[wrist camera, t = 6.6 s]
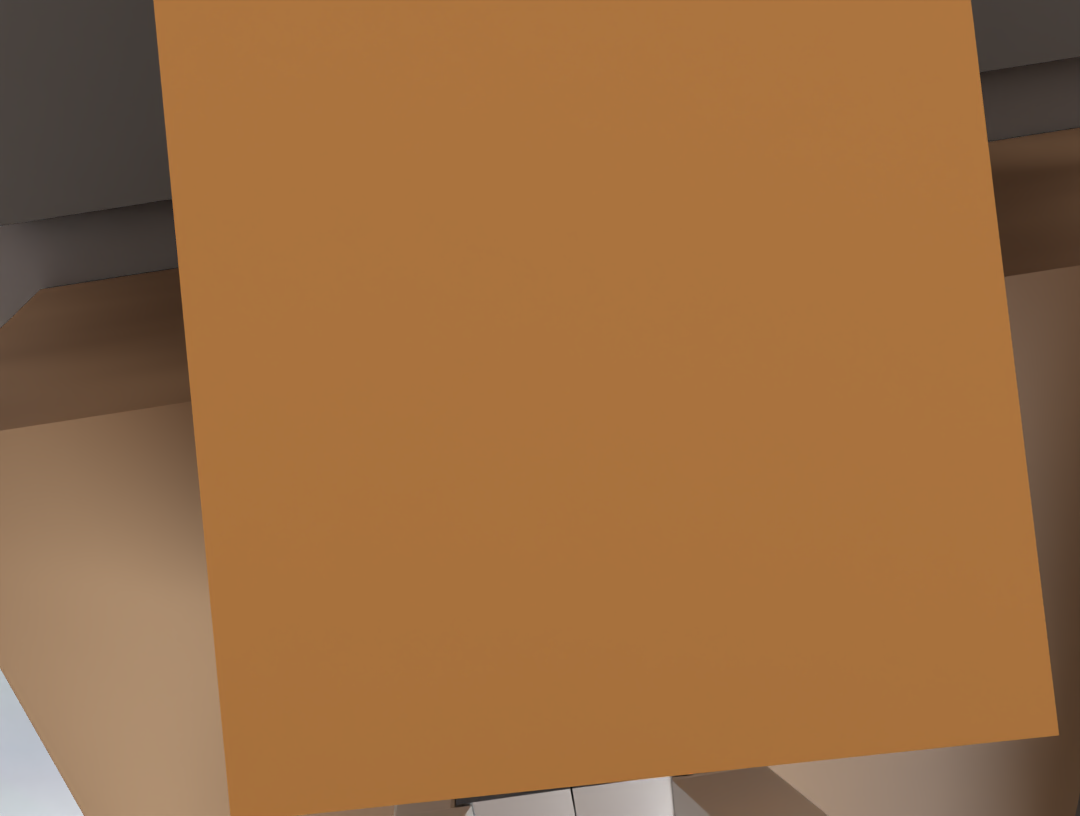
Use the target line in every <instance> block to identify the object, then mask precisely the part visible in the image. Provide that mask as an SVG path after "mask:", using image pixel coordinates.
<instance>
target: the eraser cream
mask: <svg viewBox="0 0 1080 816" xmlns="http://www.w3.org/2000/svg"><path fill="white" fill-rule="evenodd" d="M1075 816H1080V795H1079V800H1078V805H1077V810H1076V815H1075Z"/></svg>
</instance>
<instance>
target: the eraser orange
mask: <svg viewBox="0 0 1080 816" xmlns="http://www.w3.org/2000/svg"><path fill="white" fill-rule="evenodd" d="M153 1H154V12H155V22H156V33H157V44H158V54H159V65H160V75H161V86H162V96H163V107H164V118H165V128H166V139H167V149H168V160H169V171H170V181H171V192H172V202H173V213H174V224H175V234H176V245H177V255H178V266H179V277H180V287H181V298H182V308H183V319H184V330H185V340H186V351H187V361H188V372H189V383H190V393H191V404H192V414H193V425H194V436H195V446H196V457H197V467H198V478H199V489H200V499H201V510H202V520H203V531H204V542H205V552H206V563H207V573H208V584H209V595H210V605H211V616H212V626H213V637H214V647H215V658H216V669H217V679H218V690H219V700H220V711H221V722H222V732H223V743H224V753H225V764H226V775H227V785H228V796H229V806H230V816H297V815H307V814H317V813H326V812H336V811H345V810H355V809H364V808H374V807H383V806H393V805H402V804H412V803H421V802H431V801H440V800H450V799H459V798H469V797H478V796H488V795H497V794H507V793H516V792H526V791H535V790H545V789H554V788H564V787H573V786H583V785H592V784H602V783H611V782H621V781H630V780H640V779H649V778H659V777H668V776H678V775H687V774H697V773H706V772H716V771H725V770H735V769H744V768H754V767H763V766H773V765H782V764H792V763H801V762H811V761H820V760H830V759H839V758H849V757H858V756H868V755H877V754H887V753H896V752H906V751H915V750H925V749H934V748H944V747H953V746H963V745H972V744H982V743H991V742H1001V741H1010V740H1020V739H1029V738H1039V737H1048V736H1058V735H1059V730H1058V721H1057V713H1056V705H1055V696H1054V688H1053V680H1052V671H1051V663H1050V655H1049V646H1048V638H1047V630H1046V621H1045V613H1044V605H1043V597H1042V588H1041V580H1040V572H1039V563H1038V555H1037V547H1036V538H1035V530H1034V522H1033V513H1032V505H1031V497H1030V488H1029V480H1028V472H1027V463H1026V455H1025V447H1024V438H1023V430H1022V422H1021V413H1020V405H1019V397H1018V388H1017V380H1016V372H1015V363H1014V355H1013V347H1012V338H1011V330H1010V322H1009V313H1008V305H1007V297H1006V289H1005V280H1004V272H1003V264H1002V255H1001V247H1000V239H999V230H998V222H997V214H996V205H995V197H994V189H993V180H992V172H991V164H990V155H989V147H988V139H987V130H986V122H985V114H984V105H983V97H982V89H981V80H980V72H979V64H978V55H977V47H976V39H975V30H974V22H973V14H972V5H971V0H153Z"/></svg>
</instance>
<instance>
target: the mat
mask: <svg viewBox="0 0 1080 816" xmlns="http://www.w3.org/2000/svg"><path fill="white" fill-rule="evenodd" d="M971 5H972V14H973V22H974V30H975V39H976V47H977V55H978V64H979V72H985V71H991V70H998V69H1004V68H1010V67H1017V66H1023V65H1029V64H1036V63H1042V62H1049V61H1055V60H1061V59H1068V58H1074V57H1080V0H971ZM169 199H172V192H171V181H170V171H169V160H168V149H167V139H166V128H165V118H164V107H163V96H162V86H161V75H160V65H159V54H158V44H157V33H156V22H155V12H154V1H153V0H0V226H3V225H9V224H16V223H22V222H29V221H35V220H41V219H48V218H54V217H60V216H67V215H73V214H80V213H86V212H92V211H99V210H105V209H111V208H118V207H124V206H131V205H137V204H143V203H150V202H156V201H162V200H169Z"/></svg>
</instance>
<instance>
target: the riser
mask: <svg viewBox="0 0 1080 816" xmlns="http://www.w3.org/2000/svg"><path fill="white" fill-rule="evenodd" d="M988 147H989V155H990V164H991V172H992V180H993V189H994V197H995V205H996V214H997V222H998V230H999V239H1000V247H1001V255H1002V264H1003V272H1004V280H1005V289H1006V297H1007V305H1008V313H1009V322H1010V330H1011V338H1012V347H1013V355H1014V363H1015V372H1016V380H1017V388H1018V397H1019V405H1020V413H1021V422H1022V430H1023V438H1024V447H1025V455H1026V463H1027V472H1028V480H1029V488H1030V497H1031V505H1032V513H1033V522H1034V530H1035V538H1036V547H1037V555H1038V563H1039V572H1040V580H1041V588H1042V597H1043V605H1044V613H1045V621H1046V630H1047V638H1048V646H1049V655H1050V663H1051V671H1052V680H1053V688H1054V696H1055V705H1056V713H1057V721H1058V730H1059V735H1058V736H1048V737H1039V738H1029V739H1020V740H1010V741H1001V742H991V743H982V744H972V745H963V746H953V747H944V748H934V749H925V750H915V751H906V752H896V753H887V754H877V755H868V756H858V757H849V758H839V759H830V760H820V761H811V762H801V763H792V764H782V765H773V766H768V767H769V768H770V769H771V770H773V771H774V772H775V773H776V774H778V775H779V776H780V777H781V778H783V779H784V780H785V781H786V782H788V783H789V784H790V785H791V786H792V787H794V788H795V789H796V790H797V791H799V792H800V793H801V794H802V795H804V796H805V797H806V798H807V799H808V800H810V801H811V802H812V803H813V804H815V805H816V806H817V807H818V808H820V809H821V810H822V811H823V812H825V813H826V814H827V815H828V816H1075V815H1076V810H1077V805H1078V800H1079V795H1080V128H1074V129H1068V130H1061V131H1055V132H1048V133H1042V134H1036V135H1029V136H1023V137H1016V138H1010V139H1003V140H997V141H991V142H988ZM0 669H1V670H2V672H3V674H4V676H5V677H6V679H7V681H8V683H9V684H10V686H11V688H12V690H13V691H14V693H15V695H16V697H17V698H18V700H19V702H20V704H21V706H22V707H23V709H24V711H25V713H26V714H27V716H28V718H29V720H30V721H31V723H32V725H33V727H34V728H35V730H36V732H37V734H38V735H39V737H40V739H41V741H42V743H43V744H44V746H45V748H46V750H47V751H48V753H49V755H50V757H51V758H52V760H53V762H54V764H55V765H56V767H57V769H58V771H59V772H60V774H61V776H62V778H63V779H64V781H65V783H66V785H67V787H68V788H69V790H70V792H71V794H72V795H73V797H74V799H75V801H76V802H77V804H78V806H79V808H80V809H81V811H82V813H83V815H84V816H230V806H229V796H228V785H227V775H226V764H225V753H224V743H223V732H222V722H221V711H220V700H219V690H218V679H217V669H216V658H215V647H214V637H213V626H212V616H211V605H210V595H209V584H208V573H207V563H206V552H205V542H204V531H203V520H202V510H201V499H200V489H199V478H198V467H197V457H196V446H195V436H194V425H193V414H192V404H191V393H190V383H189V372H188V361H187V351H186V340H185V330H184V319H183V308H182V298H181V287H180V277H179V268H175V269H168V270H162V271H155V272H149V273H142V274H136V275H130V276H123V277H117V278H110V279H104V280H97V281H91V282H85V283H78V284H72V285H65V286H59V287H53V288H46V289H40V290H39V291H38V292H37V293H36V294H35V295H34V296H33V297H32V298H31V299H30V300H29V301H28V302H27V303H26V304H25V305H24V306H23V307H22V308H21V309H20V310H19V311H18V312H17V313H16V314H15V315H14V316H13V317H12V318H11V319H10V320H9V321H8V322H6V323H5V324H4V325H3V326H2V327H1V328H0ZM297 816H394V805H393V806H383V807H374V808H364V809H355V810H345V811H336V812H326V813H317V814H307V815H297Z"/></svg>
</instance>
